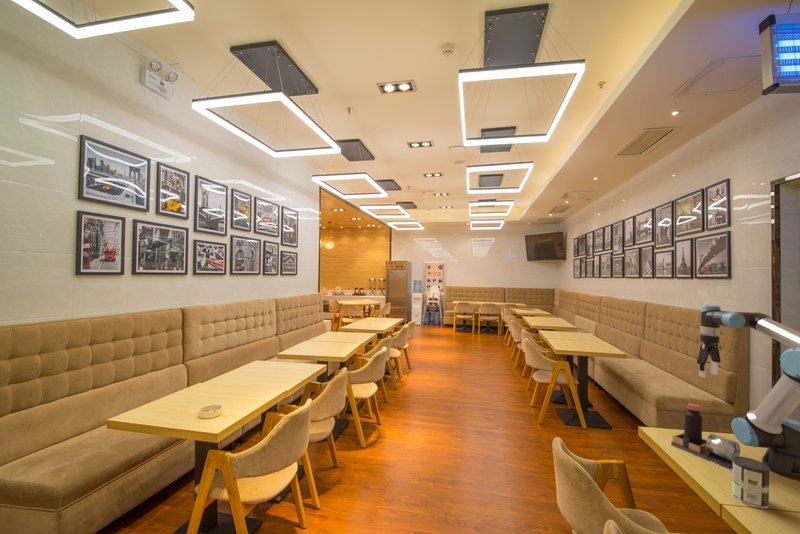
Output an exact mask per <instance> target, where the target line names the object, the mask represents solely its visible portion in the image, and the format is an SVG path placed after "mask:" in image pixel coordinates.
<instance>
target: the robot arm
mask: <svg viewBox="0 0 800 534" xmlns="http://www.w3.org/2000/svg"><path fill="white" fill-rule="evenodd" d="M721 326H722V327H727V328H731V329H732V328H733V329H739V328H746V329H747V328H748V329H753V330H755V331H757V332H759V333H761V334H764V335H765V336H768V337H769V338H771V339H773V340H775V341H777V342H779V343H781V344H783V345H785V346H788V347H789V348H788V349H786V350H784V351H783V353H782V354H781V355H780V358H779V362H780V363H779V365H780V368H781V369H780V371H781V373H782V375H781V377H780V378H779V379H778V381H776V383H775V384H774V386H773V387H772V388H771V390H770V391H769V392H768V393H767V395H766V396H765V398H763V400H762V401H761V402H760V404H759V405H758V406H757V408H755V409H754V410H753V409H752V410H751V409H750V410H749V411H747V412H746V414H745V415H744V416H743V417H740V416H739V417H735V418H734V419H732V421H731V423H730V425H731V429H732V433H733V435H734V437H735V438H736V439H737V440H738V441H739V442H740V443H741V444H742V445H745V446H746V447H752V448H766V450H765V452H764V454H763V455H762V457H761V463H763V464H765V465H767V466H768V467H769V468H770V472H772V473H775V474H777V475H779V476H782V477H785V478H789V479H793V480H797V481H800V422H799V421H797V420H794V419H791V418H789V416H790V415H791V413H793V411H794V410H795V409H796V408H798V405H799V404H800V331H798V330H796V329H795V328H791V327H790V326H787V325H785V324H782V323H780V322H778V321H776V320H773V319H772V317H771V315H769V314H768V313H763V312H757V311H756V312H749V311H748V312H746V311H745V312H744V311H727V310H722V309H721V306H719V305H711V304H703V305H702V306H701V310H700V327H699V330H700V335H699V336H700V337H699V338H700V339H699V341H700V342H702V343H703V344H702V343H701V344H700V348H699V353H698V357H697V359H696V364H698V377H699V378H700V377H701V378H705V379H706V378H707V364H706V363H707V361H708V358H709V355H710V358H711V360H712V361H710V374H711V375H715V376H718V375H719V373H718V372H719V363H722V362H721V361H722V360H721V356H720V350H719V344H720V335H721Z"/></svg>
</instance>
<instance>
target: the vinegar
mask: <svg viewBox="0 0 800 534" xmlns="http://www.w3.org/2000/svg"><path fill="white" fill-rule="evenodd" d="M700 412H701V406H700V405H699V404H695V403H691V402H688V403H687V411H686V412H685V413H684V427H683V431H684V432H683V433H684V436H686V437H689V438H690V442H691V443H694V444H696V445H699V446H700V445H701V444H702V439H703V416H702V415H701V414H700Z"/></svg>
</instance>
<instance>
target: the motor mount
mask: <svg viewBox="0 0 800 534" xmlns="http://www.w3.org/2000/svg"><path fill="white" fill-rule="evenodd" d="M670 444H671V446H673V447H675V448H678V449H681V450H683V451H685V452H687V453H690V454H692V455H695V456H697V457H699V458H701V457H702V459H703V460H706V459H707V460H706V461H709V462H711V461H712V463H713V462H715V463H714V464H716V463H717V464H716V465H718V464H719V465H718V466H720V465H721V467H723V466H724V467H723V468H725V467H726V468H725V469H728V468H730V469H733V468H732V467H733V460H732V458H733V457H735V456H740V455H741V446H740V443H739V442H737V441H734V440H732V439H729V438H725V437H724V436H720V435H718V434H715V433H710V434H709V435H708V437H707V439H704V438H702V444H701V445H700V446H699V445H696V444H694V443H691V442H690V438H689V437H686V436H684V432H682V433H679V434H675V435H672V441H671V443H670ZM740 457H741V456H740Z"/></svg>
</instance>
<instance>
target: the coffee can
mask: <svg viewBox="0 0 800 534" xmlns="http://www.w3.org/2000/svg"><path fill="white" fill-rule="evenodd" d="M732 460H733V468H732V470H731V471H732V476H731V477H732V478H731V479H732V481H731V496H732V497H733V498H734V499H735V500H737V501H739V502H741V503H742V504H745V505H747V506H750V507H752V508H753V507H754V508H757V509H763V510H765V509H769V507H770V505H769V504H770V503H769V502H770V501H769V500H770V497H769V496H770V472H771V471H770V468H769V467H768V466H767V465H765V464H763V463H762V461H759V460H756V459H754V458H750V457H744V456H735V457H733V458H732Z"/></svg>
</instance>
